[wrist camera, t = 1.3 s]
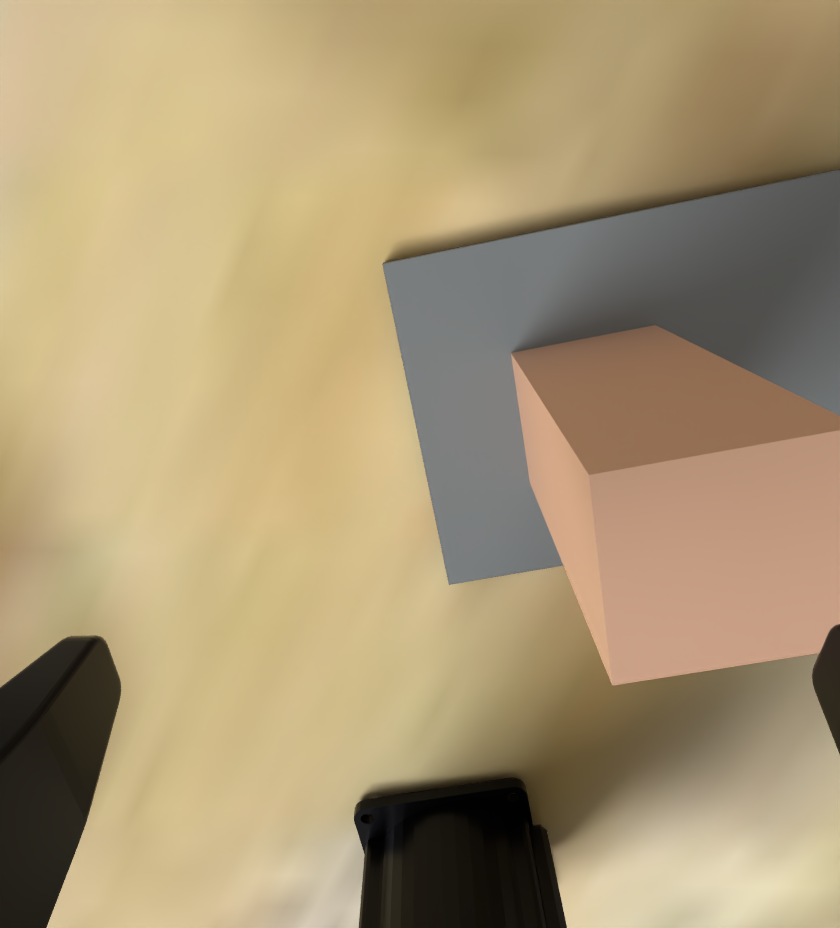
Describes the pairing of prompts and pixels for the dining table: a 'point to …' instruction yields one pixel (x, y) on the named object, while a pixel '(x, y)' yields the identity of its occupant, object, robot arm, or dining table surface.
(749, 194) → the slate mat
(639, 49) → the dining table surface
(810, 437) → the terracotta block
